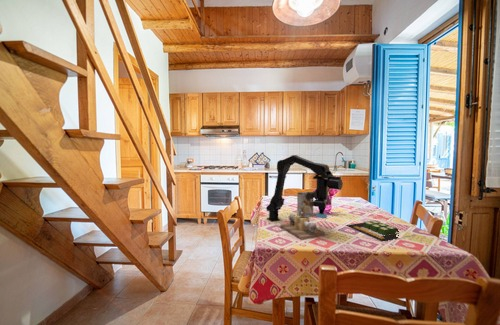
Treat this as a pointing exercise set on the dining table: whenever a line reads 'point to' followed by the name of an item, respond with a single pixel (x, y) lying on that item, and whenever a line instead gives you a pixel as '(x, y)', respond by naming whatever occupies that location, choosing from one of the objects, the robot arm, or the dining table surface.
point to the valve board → (301, 233)
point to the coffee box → (304, 203)
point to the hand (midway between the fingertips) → (321, 215)
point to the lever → (314, 214)
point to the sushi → (376, 230)
